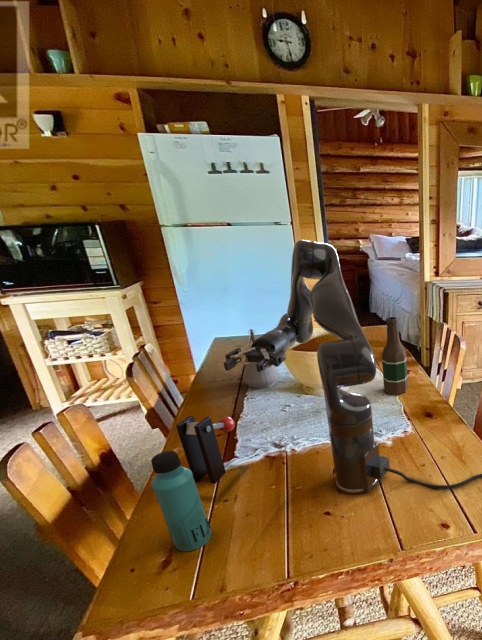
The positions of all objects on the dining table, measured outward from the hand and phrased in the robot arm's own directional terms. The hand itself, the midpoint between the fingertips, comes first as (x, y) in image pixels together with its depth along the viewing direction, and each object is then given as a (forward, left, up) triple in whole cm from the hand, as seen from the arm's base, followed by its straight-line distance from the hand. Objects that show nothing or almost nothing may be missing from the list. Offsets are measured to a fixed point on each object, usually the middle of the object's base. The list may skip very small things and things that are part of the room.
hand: (242, 367), depth 110 cm
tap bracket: (-6, +21, -19) cm, 29 cm away
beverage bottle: (-19, +37, -19) cm, 45 cm away
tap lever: (-4, +16, -9) cm, 19 cm away
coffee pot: (+25, -30, -19) cm, 44 cm away
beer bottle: (-23, -38, -19) cm, 49 cm away
